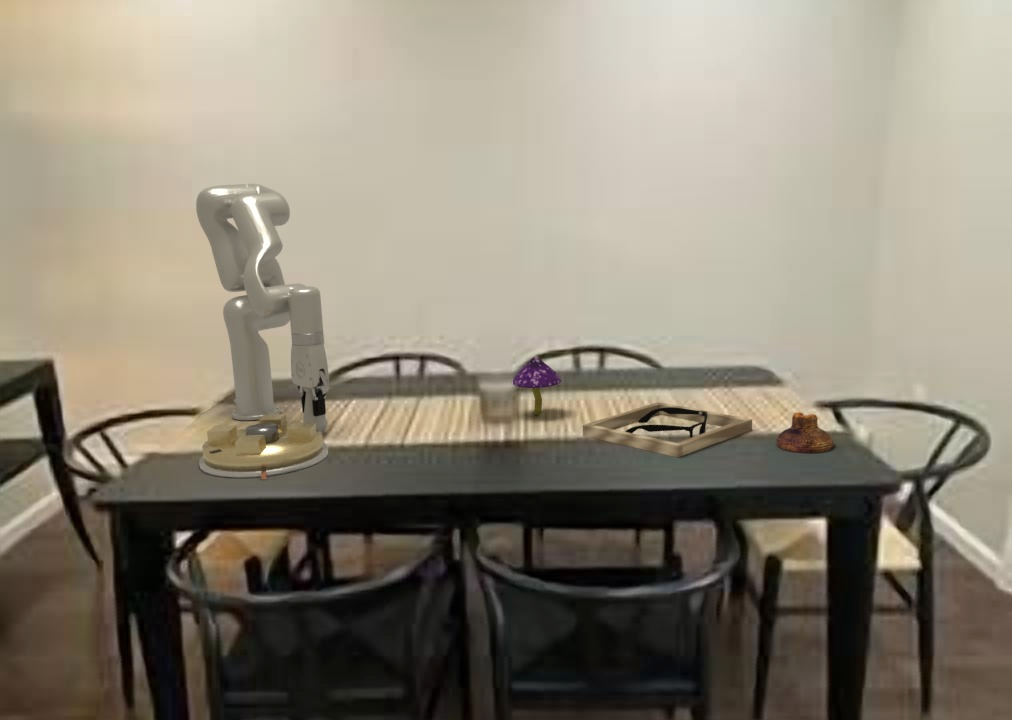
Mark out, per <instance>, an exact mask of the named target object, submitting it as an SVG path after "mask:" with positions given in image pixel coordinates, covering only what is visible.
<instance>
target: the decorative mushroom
mask: <svg viewBox="0 0 1012 720" xmlns="http://www.w3.org/2000/svg"><path fill="white" fill-rule="evenodd" d="M512 380H513V384H512V385H513V386H515V387H518V388H524V389H526V388H527V389H532V393H533V397H534V411H533V414H534V415H535V416H540V415H542V413H543V411H542V409H543V408H542V407H543V398H542V393H541V389H542V388H549V387H554V386H557V385H559V384H560V383H561V382H562V380H563V379H562V377H561V376H560V375H559V374H558V373H557V372H556V371H555V370H554V369H552V367H551V366H549V365H548V364H547V363H546V362H544V361H543V360H542V359H541V358H540V357H538V356H533V357H532V358H531V359H530V360H529V361H528V362H527V363H526V364H525V365H524V366H523V367H522V368H521V369H520V370H519V371H518V372H517V374H515V375H514V377H513V379H512Z"/></svg>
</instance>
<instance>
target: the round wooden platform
mask: <svg viewBox="0 0 1012 720" xmlns="http://www.w3.org/2000/svg"><path fill="white" fill-rule="evenodd" d="M237 427H238V426H237V425H235V424H234V425H232V424H231V425H214V426H212V427H211V428H210V429H209V430H208V431H206V436H207V440H206V441H205V442H204V443H203V444H202V456H203V458H204V463H205V464H206V465H207V466H209V467H212V468H215V469H220V470H228V471H257V470H267V469H274V468H280V467H285V466H290V465H294V464H297V463H301V462H304V461H306V460H309V459H311V458H313V457H315V456H317V455H318V454H320V453H321V452H322V450H323V443H324V441H323V440H324V439H323V434H322V433H321V432H320V431H319V430H317V429H316V423H303V422H294V423H292V424H288V422H287V414H286V413H279V414H266V415H264V416H263V417H262V418H261V419H259V420H258V423H257V424H256V423H255V424H251V425H249V426H247V427H245V428H241V429H237Z"/></svg>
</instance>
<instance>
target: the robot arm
mask: <svg viewBox="0 0 1012 720" xmlns="http://www.w3.org/2000/svg"><path fill="white" fill-rule="evenodd" d="M195 206H196V208H195V212H196V215H197V219H198V223H199V225H200V227H201V229H202V231H203V233H204V234H205V236H206V239H207V240H208V241H209V242H208V243H209V245H210V248H211V252H212V255H213V256H212V257H213V260H214V263H215V268H216V270H217V275H218V277H219V281H220V283H221V287H222V288H223V289H224V290H225V291H227V292H229V293H230V292H231V293H237V292H238V293H239V292H245V293H246V294H245V295H243V294H242V295H239V296H235V297H232V298H230V299H229V300H227V302H226V303H225V304H224V306H223V309H222V313H223V314H222V315H223V320H224V323H225V328H226V330H227V335H228V339H229V344H230V345H229V346H230V354H231V366H232V373H233V385H234V392H235V393H234V394H235V398H234V400H233V403H234V404H235V405H236V409H234V410H233V411H232V412H231V414H230V416H231V418H232V419H234V420H238V421H259V419H261V418H262V417H263V416H264V415H266V414H281V412H282V410H281V407H280V406H277V405H275V401H274V400H275V399H274V393H273V392H274V389H273V381H272V379H273V378H272V370H271V368H272V367H271V360H270V359H271V358H270V349H269V347H268V344H267V342H266V340H265V339H264V338H263V337H262V336H261V334H260V333H259V332H260V331H261V332H262V331H264V330H269V329H271V330H272V329H277V328H281V327H285V326H286V325H288V324H290V333H291V334H290V335H291V351H290V371H291V373H290V374H291V382H292V383H293V384H294V385H295V386H297V389H298V391H299V396H300V399H301V400H300V401H301V411H302V413H303V414H304V408H305V397H306V392H305V391H304V390H303V387H305V388H310V389H312V393H313V398H314V400H312V405H313V415H314V416H320V415H324V414H325V415H326V413H327V412H326V411H327V410H326V398H327V393H328V392H329V391H330V390H331V387H330V384H329V383H330V378H329V377H330V374H329V366H328V360H327V354H326V349H325V337H324V335H325V334H324V325H323V323H324V322H323V312H322V300H321V299H322V298H321V291H320V289H319V288H317V287H315V286H307V285H305V284H303V283H288V284H285V280H284V279H285V278H284V276H283V271H282V269H281V266H280V263H279V261H278V260H277V256H278V255H280V253H281V252H282V250H283V246H284V244H283V242H282V240H281V238H280V235H279V233H278V230H277V229H276V227H280V226H283V225H286V224H287V223H288V222H289V220H290V216H291V211H290V210H291V209H290V206H289V203H288V201H287V199H286V198H285V196H284V195H282V194H281V193H280V192H278V191H276V190H274V189H271V188H269V187H266V186H264V185H262V184H258V183H244V184H225V185H224V184H223V185H212V186H209V187H206V188H203V189H202V190H201V191H200V192H199V193H198V195H197V198H196V204H195ZM228 219H233V222H234V224H235V226H234V225H233V224H232V223H231V222H230V221H228ZM319 383H320V386H317V385H318V384H319ZM315 386H316V387H315ZM316 389H320V390H319V391H318V392H317V390H316Z"/></svg>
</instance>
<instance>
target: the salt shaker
mask: <svg viewBox="0 0 1012 720" xmlns="http://www.w3.org/2000/svg"><path fill="white" fill-rule="evenodd" d="M317 386H320V383H319V384H318V385H317ZM315 387H316V386H315ZM303 390H304V391H305V392H306V397H305V408H304V413H303V418H302V419H303V421H302V423H316V429H317V430H319V431H320V432H321V433H322V435H324V433H325V430H326V429H327V426H328V421H327V420H328V419H327V417H326V414H324V415H320V416H314V415H313V405H312V400H314V398H313V393H312V389H310V388H305V387H303ZM316 390H317V392H318V391H319V390H320V389H316Z"/></svg>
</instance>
